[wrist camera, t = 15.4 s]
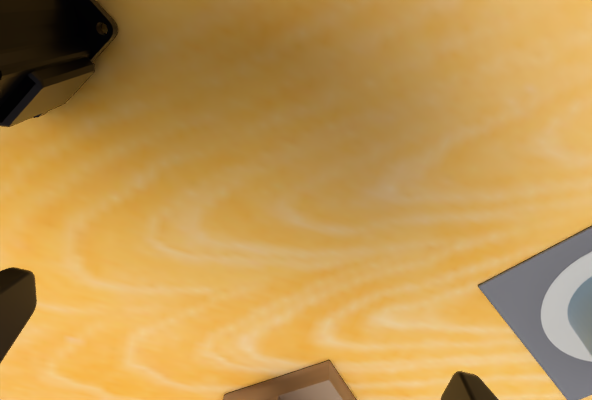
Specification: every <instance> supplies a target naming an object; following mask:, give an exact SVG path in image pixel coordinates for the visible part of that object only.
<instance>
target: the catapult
mask: <svg viewBox="0 0 592 400" xmlns="http://www.w3.org/2000/svg"><path fill="white" fill-rule="evenodd" d="M223 400H356V399H355V397H354V396H353V394H352V393H351V391H350V390H349V388H348V387H347V386H346V384H345V383H344V381H343V380H342V378H341V377H340V375H339V374H338V372H337V371H336V369H335V368H334V366H333V365H332V363H331V362H330V360H329V361H326V362H323V363H320V364H317V365H314V366H311V367H307V368H304V369H301V370H298V371H295V372H292V373H289V374H286V375H283V376H280V377H277V378H274V379H271V380H268V381H265V382H262V383H259V384H255V385H252V386H249V387H246V388H243V389H240V390H237V391H234V392H231V393H228V394H225V395H224V398H223Z"/></svg>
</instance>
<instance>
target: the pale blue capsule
mask: <svg viewBox="0 0 592 400" xmlns="http://www.w3.org/2000/svg"><path fill="white" fill-rule="evenodd" d="M568 320H569V323H570V325H571V327H572V328H573V330H574V331H575V333H576V334H577V336H578V337H579V338H580V340H581V341H582V343H583V344H584V346H585V347H586V349H587V350H588V351H589V353H590V354H591V356H592V276H591V277H590V278H588V279H587V280H586V281H585V282H584V283H582V284H581V285H580V287H579V288H578V289H577V290H576V291H575V293H574V294H573V296H572V298H571V300H570V302H569V306H568Z"/></svg>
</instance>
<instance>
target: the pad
mask: <svg viewBox="0 0 592 400" xmlns="http://www.w3.org/2000/svg"><path fill="white" fill-rule="evenodd" d="M591 276H592V226H591V227H589V228H587V229H585V230H583V231H582V232H580V233H578V234H576V235H574V236H572V237H570V238H568V239H566V240H564V241H562V242H560V243H559V244H557V245H555V246H553V247H551V248H549V249H547V250H545V251H543V252H541V253H539V254H538V255H536V256H534V257H532V258H530V259H528V260H526V261H524V262H522V263H520V264H518V265H516V266H515V267H513V268H511V269H509V270H507V271H505V272H503V273H501V274H499V275H497V276H495V277H493V278H492V279H490V280H488V281H486V282H484V283H482V284H480V285H478V287H479V288H480V290H481V291H482V292H483V293H484V295H485V296H486V297H487V298H488V300H489V301H490V302H491V304H492V305H493V306H494V307H495V309H496V310H497V311H498V312H499V314H500V315H501V316H502V318H503V319H504V320H505V321H506V323H507V324H508V325H509V326H510V328H511V329H512V330H513V331H514V333H515V334H516V335H517V337H518V338H519V339H520V340H521V342H522V343H523V344H524V345H525V347H526V348H527V349H528V350H529V352H530V353H531V354H532V356H533V357H534V358H535V359H536V361H537V362H538V363H539V364H540V366H541V367H542V368H543V370H544V371H545V372H546V373H547V375H548V376H549V377H550V378H551V380H552V381H553V382H554V383H555V385H556V386H557V387H558V389H559V390H560V391H561V392H562V394H563V395H564V396H565V397H566V399H567V400H579V399H582V398H585V397H587V396H590V395H592V356H591V354H590V353H589V351H588V350H587V349H586V347H585V346H584V344H583V343H582V341H581V340H580V338H579V337H578V336H577V334H576V333H575V331H574V330H573V328H572V327H571V325H570V323H569V320H568V306H569V302H570V300H571V298H572V296H573V294H574V293H575V291H576V290H577V289H578V288H579V287H580V285H581V284H582V283H584V282H585V281H586V280H587V279H588V278H590V277H591Z"/></svg>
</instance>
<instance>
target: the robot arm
mask: <svg viewBox="0 0 592 400" xmlns="http://www.w3.org/2000/svg"><path fill="white" fill-rule="evenodd" d="M102 23H104V24H106V26H107V29H108V31H107V34H105V33H104V32H103V31H102V30H101V24H102ZM116 35H117V26H116V23H115V22H114V20H113V19H112V18H111V17H110V16H109V15H108V14H107V13H106V11H105V10H104V9H103V8H102V7H101V6H100V5H99V4H98V3H97V2H96V1H95V0H0V126H2V127H10V126H13V125H15V124H18V123H20V122H22V121H25V120H27V119H30V118H32V117H34V118H35V117H39V116H42V115H44V114H45V113H46V112H47V111H49V110H51V109H54V108H56V107H58V106H61V105H63V104H65V103H66V102H67V101H68V100H69V99H70V98H71V96H72V95H73V94H74V93H75V92H76V91H77V90H78V89H79V88H80V87H81V86H82V85H83V83H84V82H85V81H86V80H87V79H88V78H89V77H90V76H91V75H92V74H93V73H94V71H95V64H94V63H93V61H94V60H95V59H96V58H97V56H98V55H99V54H100V53H101V52H102V51H103V50H104V49H105V48H106V47H107V45H108V44H109V43H110V42H111V41H112V40H113V39H114V38H115V36H116ZM36 302H37V299H36V287H35V276H34V274H33V273H32V272H31V271H28V270H24V269H19V268H14V267H12V268H8V269H5V270H2V271H0V363H1V362H2V360H3V358H4V357H5V355H6V354H7V352H8V351H9V349H10V348H11V346H12V345H13V343H14V342H15V340H16V339H17V337H18V335H19V334H20V332H21V331H22V329H23V328H24V326H25V325H26V323H27V322H28V320H29V319H30V317H31V315H32V314H33V312H34V310H35V307H36ZM441 400H498V399H497V397H496V396H495V395H494V394H493V393H492V392H491V391H490V389H489V388H488V387H487V386H486V385H485V384H484V382H483V381H482V380H481V379H480V378H479V377H478V376H476V375H474V374H470V373H466V372H462V371H458V372H456V373H455V374H454V375H453V377H452V378H451V380H450V382H449V384H448V386H447V387H446V389H445V391H444V393H443V395H442V397H441Z"/></svg>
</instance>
